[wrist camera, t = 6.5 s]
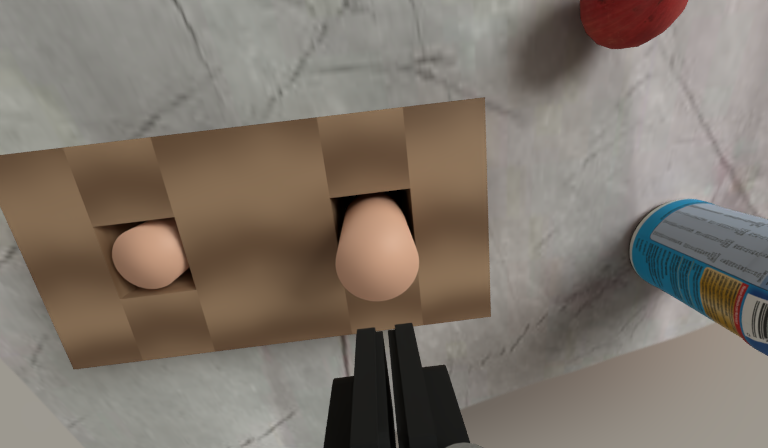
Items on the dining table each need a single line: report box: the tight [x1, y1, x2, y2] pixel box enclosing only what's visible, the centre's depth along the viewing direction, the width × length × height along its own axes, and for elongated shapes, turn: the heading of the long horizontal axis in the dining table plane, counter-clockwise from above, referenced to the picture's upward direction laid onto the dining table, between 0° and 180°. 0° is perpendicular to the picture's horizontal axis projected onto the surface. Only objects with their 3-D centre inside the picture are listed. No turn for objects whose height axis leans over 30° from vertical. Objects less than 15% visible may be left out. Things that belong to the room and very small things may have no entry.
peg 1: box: [112, 217, 189, 289], centre depth 25 cm, size 4×4×8 cm
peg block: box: [0, 97, 491, 369], centre depth 25 cm, size 14×28×8 cm, turn 97°
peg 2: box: [335, 192, 419, 301], centre depth 21 cm, size 4×4×8 cm
